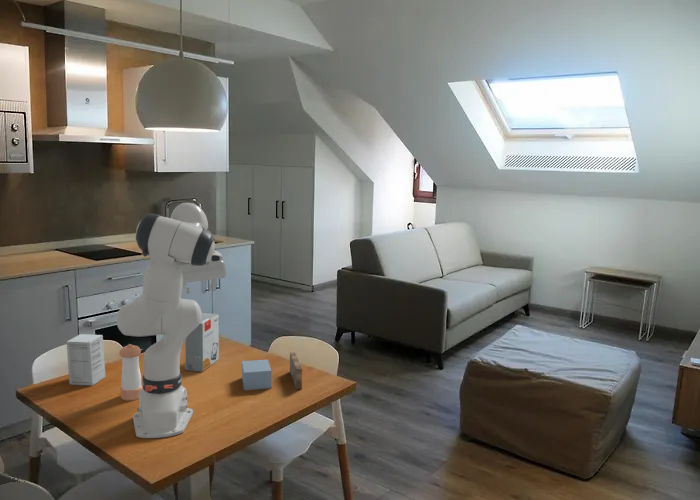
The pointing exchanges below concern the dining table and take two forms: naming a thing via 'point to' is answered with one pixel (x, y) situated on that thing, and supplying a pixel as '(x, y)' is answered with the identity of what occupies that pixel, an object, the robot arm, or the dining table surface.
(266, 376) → the slate block
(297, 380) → the board
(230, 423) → the dining table surface
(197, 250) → the robot arm
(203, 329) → the hard drive box
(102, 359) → the supplement box
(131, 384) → the pepper shaker
